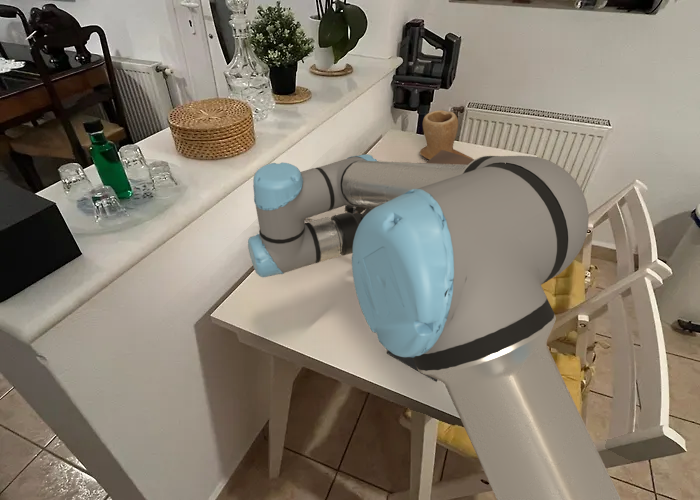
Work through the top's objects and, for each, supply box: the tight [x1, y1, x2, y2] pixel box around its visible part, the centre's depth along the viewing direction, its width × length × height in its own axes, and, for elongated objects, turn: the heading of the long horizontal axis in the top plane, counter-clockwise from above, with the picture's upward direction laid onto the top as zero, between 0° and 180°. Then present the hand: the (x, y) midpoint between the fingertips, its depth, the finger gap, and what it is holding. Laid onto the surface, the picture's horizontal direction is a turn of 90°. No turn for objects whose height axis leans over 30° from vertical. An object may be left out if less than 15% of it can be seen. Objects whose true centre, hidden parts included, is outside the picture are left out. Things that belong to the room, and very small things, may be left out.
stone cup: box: [419, 109, 474, 161], centre depth 128 cm, size 15×12×15 cm
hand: (433, 209), depth 85 cm, fingers open, 13 cm apart
